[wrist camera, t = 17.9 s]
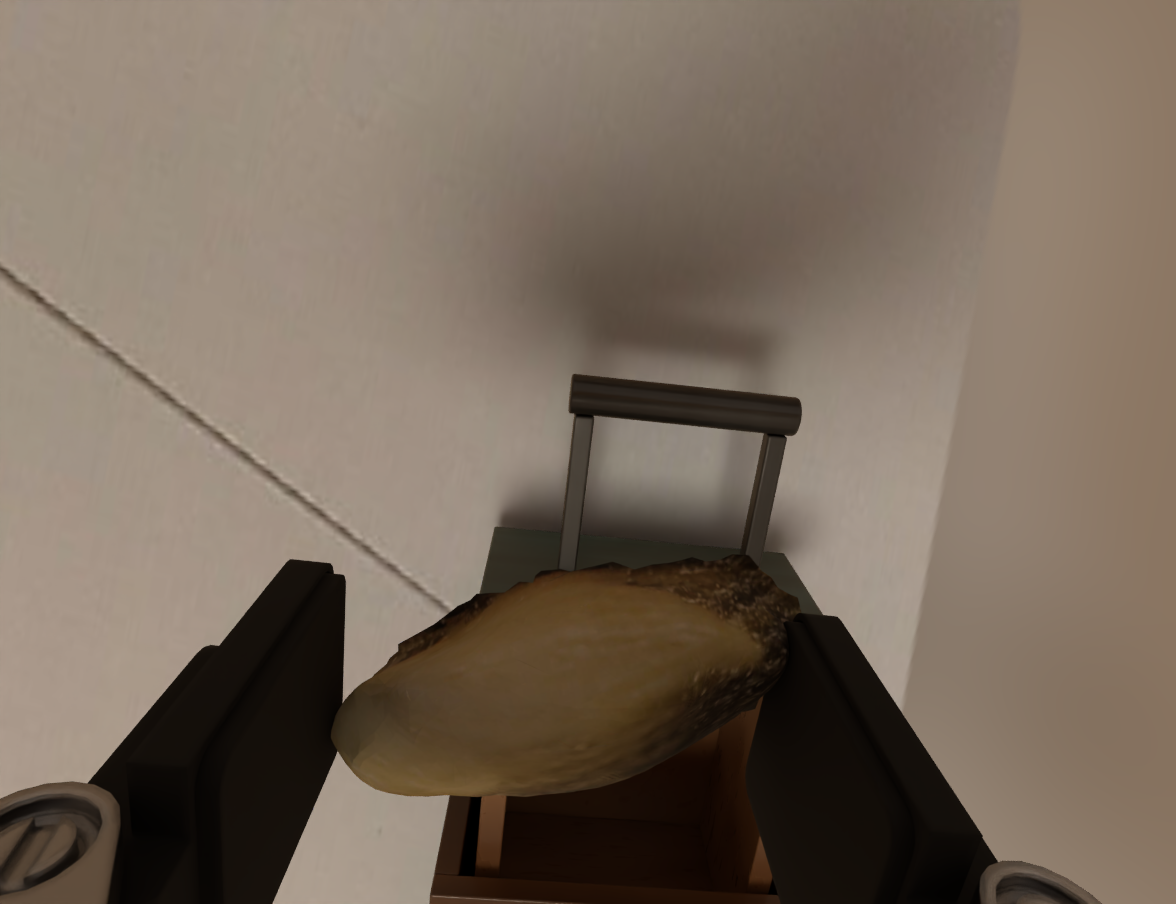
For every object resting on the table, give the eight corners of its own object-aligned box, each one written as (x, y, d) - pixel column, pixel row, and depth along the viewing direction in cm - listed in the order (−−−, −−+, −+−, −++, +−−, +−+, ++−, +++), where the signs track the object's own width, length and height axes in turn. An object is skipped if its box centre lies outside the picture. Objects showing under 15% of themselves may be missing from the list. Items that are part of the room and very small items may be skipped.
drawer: (509, 342, 25) (488, 391, 18) (823, 376, 26) (916, 436, 19) (472, 803, 32) (446, 968, 25) (724, 820, 32) (767, 985, 26)
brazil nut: (322, 715, 11) (301, 897, 8) (421, 435, 10) (434, 550, 7) (672, 760, 13) (742, 914, 11) (793, 540, 12) (908, 656, 9)
